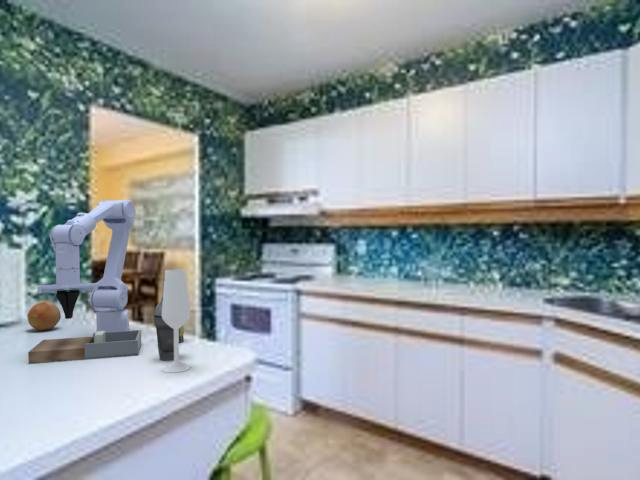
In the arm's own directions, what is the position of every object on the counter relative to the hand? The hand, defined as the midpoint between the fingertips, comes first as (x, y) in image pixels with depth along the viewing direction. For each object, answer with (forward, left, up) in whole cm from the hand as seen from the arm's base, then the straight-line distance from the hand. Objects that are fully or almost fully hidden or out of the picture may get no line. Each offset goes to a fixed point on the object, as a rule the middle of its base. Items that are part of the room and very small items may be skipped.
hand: (68, 318), depth 128 cm
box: (-11, 0, -10) cm, 15 cm away
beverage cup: (-26, +13, -10) cm, 31 cm away
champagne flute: (-28, +23, -10) cm, 38 cm away
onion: (+15, -38, -10) cm, 42 cm away
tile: (-7, 0, -7) cm, 10 cm away
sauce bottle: (-27, -6, -10) cm, 29 cm away
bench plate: (+2, 0, -10) cm, 10 cm away
